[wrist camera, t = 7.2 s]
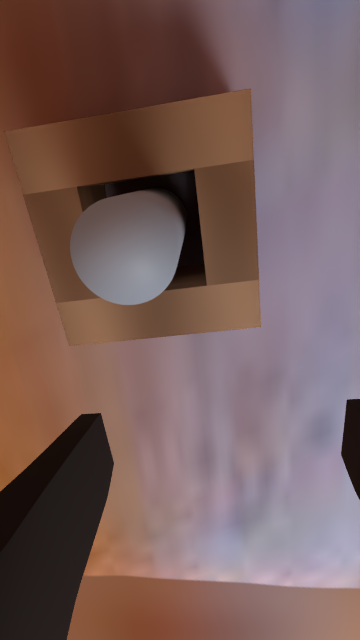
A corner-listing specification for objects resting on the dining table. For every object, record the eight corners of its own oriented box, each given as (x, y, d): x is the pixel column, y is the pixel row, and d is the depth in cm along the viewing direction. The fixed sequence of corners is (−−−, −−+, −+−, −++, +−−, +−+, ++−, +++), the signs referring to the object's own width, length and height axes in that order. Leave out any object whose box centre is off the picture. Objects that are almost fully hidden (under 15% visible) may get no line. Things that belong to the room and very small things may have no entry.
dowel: (185, 186, 16) (175, 193, 9) (188, 250, 17) (180, 303, 10) (122, 189, 16) (60, 199, 9) (129, 252, 18) (80, 306, 10)
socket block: (238, 110, 15) (250, 88, 11) (248, 296, 18) (260, 326, 15) (49, 142, 16) (3, 131, 12) (94, 313, 19) (69, 346, 16)
